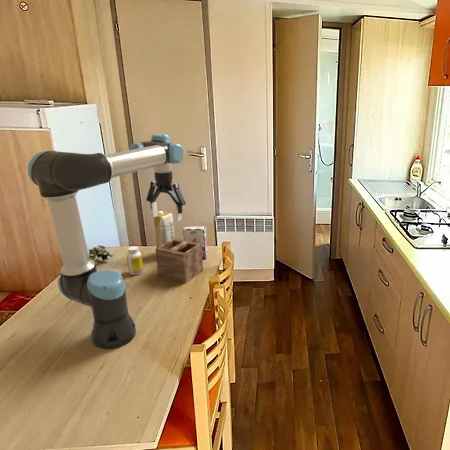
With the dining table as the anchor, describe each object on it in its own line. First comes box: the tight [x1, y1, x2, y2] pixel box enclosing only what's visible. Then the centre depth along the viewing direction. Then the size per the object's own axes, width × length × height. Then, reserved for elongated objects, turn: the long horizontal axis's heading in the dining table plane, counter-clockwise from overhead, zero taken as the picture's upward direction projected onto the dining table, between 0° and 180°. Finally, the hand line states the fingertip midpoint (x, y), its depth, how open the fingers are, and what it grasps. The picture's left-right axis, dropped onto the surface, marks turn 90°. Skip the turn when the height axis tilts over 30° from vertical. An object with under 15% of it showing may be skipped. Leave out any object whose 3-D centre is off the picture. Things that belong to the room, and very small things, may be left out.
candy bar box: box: [182, 225, 209, 259], centre depth 190 cm, size 11×5×16 cm, turn 80°
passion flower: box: [87, 245, 113, 266], centre depth 188 cm, size 11×11×12 cm
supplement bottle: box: [126, 246, 144, 276], centre depth 176 cm, size 7×7×13 cm
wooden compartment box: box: [154, 237, 204, 284], centre depth 173 cm, size 14×16×14 cm
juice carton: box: [152, 210, 175, 249], centre depth 193 cm, size 9×8×24 cm
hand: (166, 218), depth 166 cm, fingers open, 13 cm apart
